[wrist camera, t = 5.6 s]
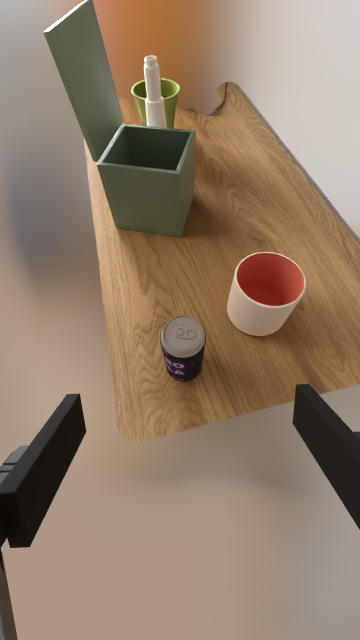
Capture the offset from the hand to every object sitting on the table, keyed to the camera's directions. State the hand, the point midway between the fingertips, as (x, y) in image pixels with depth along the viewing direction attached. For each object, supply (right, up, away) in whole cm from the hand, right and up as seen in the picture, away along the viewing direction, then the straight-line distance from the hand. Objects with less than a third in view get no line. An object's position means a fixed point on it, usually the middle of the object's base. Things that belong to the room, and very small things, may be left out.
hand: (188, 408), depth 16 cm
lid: (-14, +42, +25) cm, 51 cm away
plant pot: (-6, +56, +58) cm, 81 cm away
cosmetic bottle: (-5, +41, +49) cm, 64 cm away
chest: (-6, +30, +43) cm, 53 cm away
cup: (+13, +6, +30) cm, 33 cm away
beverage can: (0, -2, +26) cm, 26 cm away
